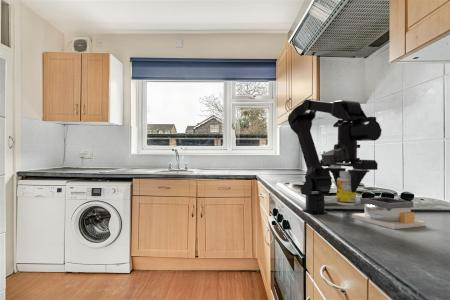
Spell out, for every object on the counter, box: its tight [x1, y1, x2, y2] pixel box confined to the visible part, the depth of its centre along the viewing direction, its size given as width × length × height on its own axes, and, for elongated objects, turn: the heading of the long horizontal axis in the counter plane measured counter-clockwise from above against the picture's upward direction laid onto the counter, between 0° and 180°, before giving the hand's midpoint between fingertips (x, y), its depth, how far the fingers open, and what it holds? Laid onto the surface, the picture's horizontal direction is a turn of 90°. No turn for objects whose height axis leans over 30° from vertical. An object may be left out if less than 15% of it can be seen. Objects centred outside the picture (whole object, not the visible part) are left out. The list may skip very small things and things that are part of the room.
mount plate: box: [351, 212, 426, 230], centre depth 101 cm, size 16×13×1 cm
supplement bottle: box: [336, 170, 357, 206], centre depth 99 cm, size 6×6×10 cm
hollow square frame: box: [361, 196, 415, 224], centre depth 100 cm, size 14×13×6 cm
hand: (346, 191), depth 99 cm, fingers closed on supplement bottle, 6 cm apart
